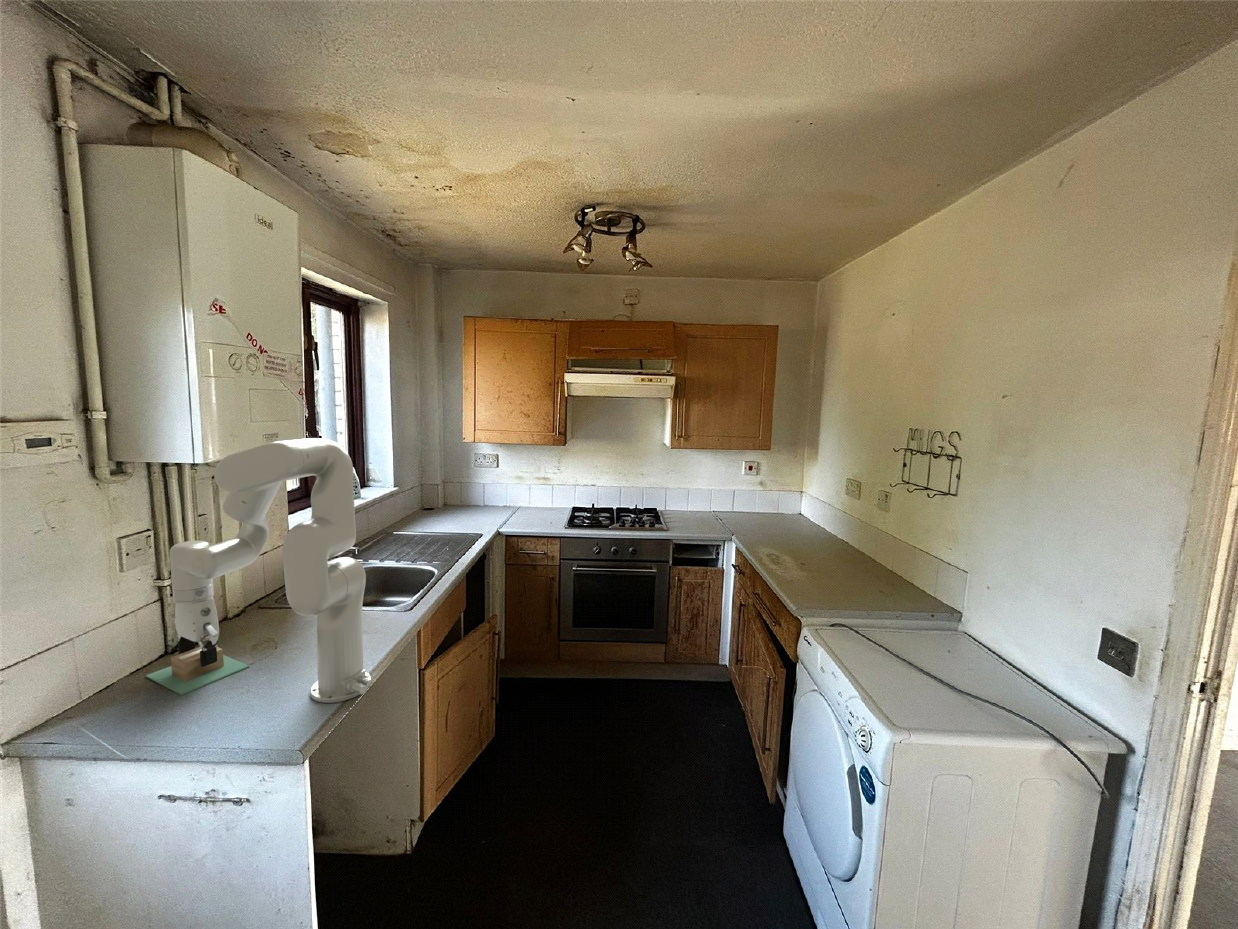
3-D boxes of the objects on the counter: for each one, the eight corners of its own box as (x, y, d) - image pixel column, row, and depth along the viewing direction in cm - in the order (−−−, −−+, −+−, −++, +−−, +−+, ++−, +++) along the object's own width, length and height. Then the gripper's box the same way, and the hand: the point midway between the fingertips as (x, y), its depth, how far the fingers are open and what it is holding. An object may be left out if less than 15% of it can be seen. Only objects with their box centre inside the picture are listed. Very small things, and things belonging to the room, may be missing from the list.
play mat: (248, 667, 126) (248, 665, 126) (181, 695, 114) (181, 693, 114) (213, 651, 133) (213, 650, 133) (146, 676, 120) (145, 675, 120)
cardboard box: (185, 681, 118) (184, 662, 118) (172, 674, 121) (170, 656, 120) (223, 666, 126) (222, 648, 125) (210, 660, 128) (209, 642, 128)
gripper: (231, 594, 121) (235, 661, 123) (192, 581, 128) (196, 644, 130) (194, 605, 114) (199, 675, 116) (155, 590, 121) (160, 657, 123)
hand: (198, 659), depth 123 cm, fingers open, 9 cm apart
